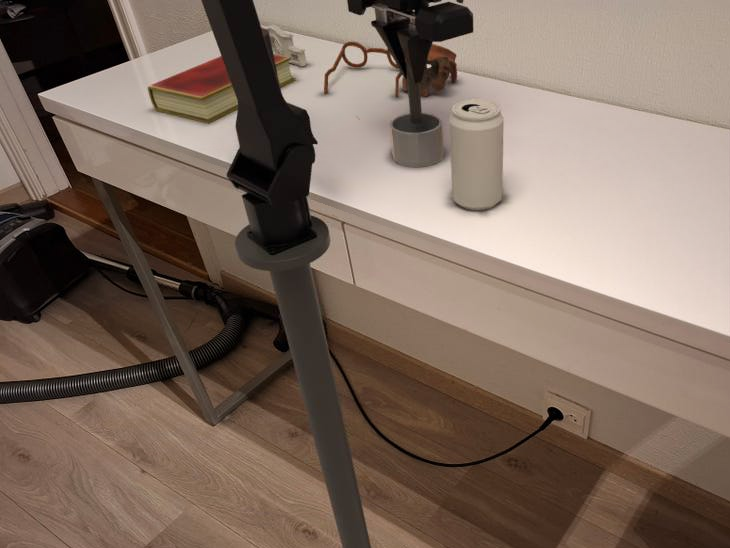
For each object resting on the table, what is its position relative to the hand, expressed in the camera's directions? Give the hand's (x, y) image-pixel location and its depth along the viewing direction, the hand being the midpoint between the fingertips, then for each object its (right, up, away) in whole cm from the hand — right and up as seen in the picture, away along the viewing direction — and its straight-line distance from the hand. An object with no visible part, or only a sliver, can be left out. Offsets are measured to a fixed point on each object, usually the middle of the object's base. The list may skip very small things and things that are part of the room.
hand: (413, 80), depth 89 cm
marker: (0, -4, +4) cm, 6 cm away
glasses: (-10, +12, +29) cm, 33 cm away
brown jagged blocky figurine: (+1, +9, +27) cm, 28 cm away
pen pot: (0, -8, +7) cm, 11 cm away
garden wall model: (-28, +20, +38) cm, 52 cm away
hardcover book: (-34, +8, +26) cm, 43 cm away
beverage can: (+8, -17, -3) cm, 19 cm away
